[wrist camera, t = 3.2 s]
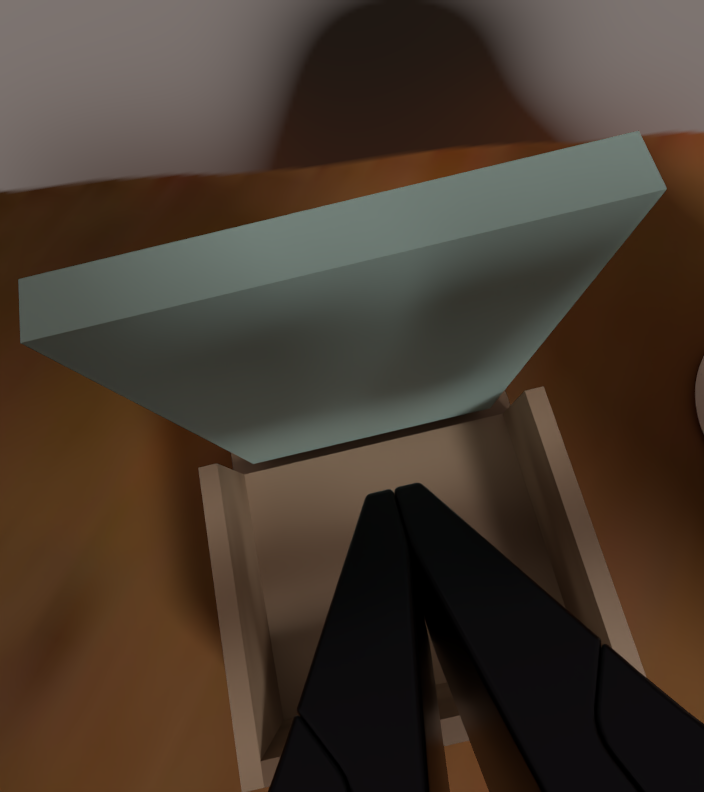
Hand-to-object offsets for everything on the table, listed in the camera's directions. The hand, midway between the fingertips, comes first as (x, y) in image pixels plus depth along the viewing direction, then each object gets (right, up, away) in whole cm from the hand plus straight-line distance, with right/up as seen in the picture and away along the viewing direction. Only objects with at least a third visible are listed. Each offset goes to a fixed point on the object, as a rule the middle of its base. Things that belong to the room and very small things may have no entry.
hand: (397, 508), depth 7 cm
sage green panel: (0, +1, +11) cm, 11 cm away
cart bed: (+1, -4, +11) cm, 12 cm away
